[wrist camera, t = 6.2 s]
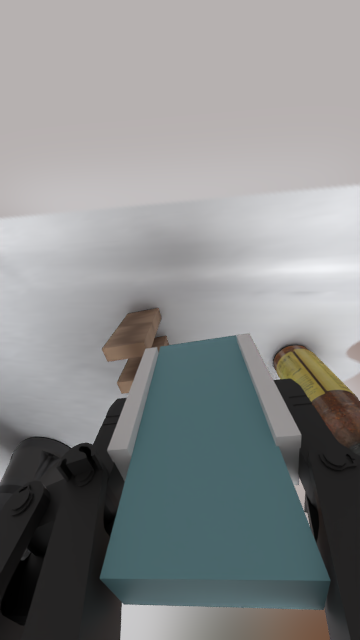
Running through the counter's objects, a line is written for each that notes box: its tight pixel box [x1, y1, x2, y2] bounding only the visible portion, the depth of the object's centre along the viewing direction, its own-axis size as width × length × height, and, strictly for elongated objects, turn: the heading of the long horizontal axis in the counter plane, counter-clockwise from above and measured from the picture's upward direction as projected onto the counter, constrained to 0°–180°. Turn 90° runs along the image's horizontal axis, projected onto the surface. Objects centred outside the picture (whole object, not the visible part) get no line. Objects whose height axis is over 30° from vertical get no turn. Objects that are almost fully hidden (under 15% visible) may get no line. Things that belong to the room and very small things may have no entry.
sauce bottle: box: [274, 345, 360, 456], centre depth 25 cm, size 7×6×20 cm
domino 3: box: [100, 335, 331, 610], centre depth 9 cm, size 5×2×10 cm, turn 102°
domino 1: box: [102, 308, 161, 362], centre depth 28 cm, size 5×2×10 cm, turn 103°
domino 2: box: [117, 336, 169, 394], centre depth 30 cm, size 5×2×10 cm, turn 103°
